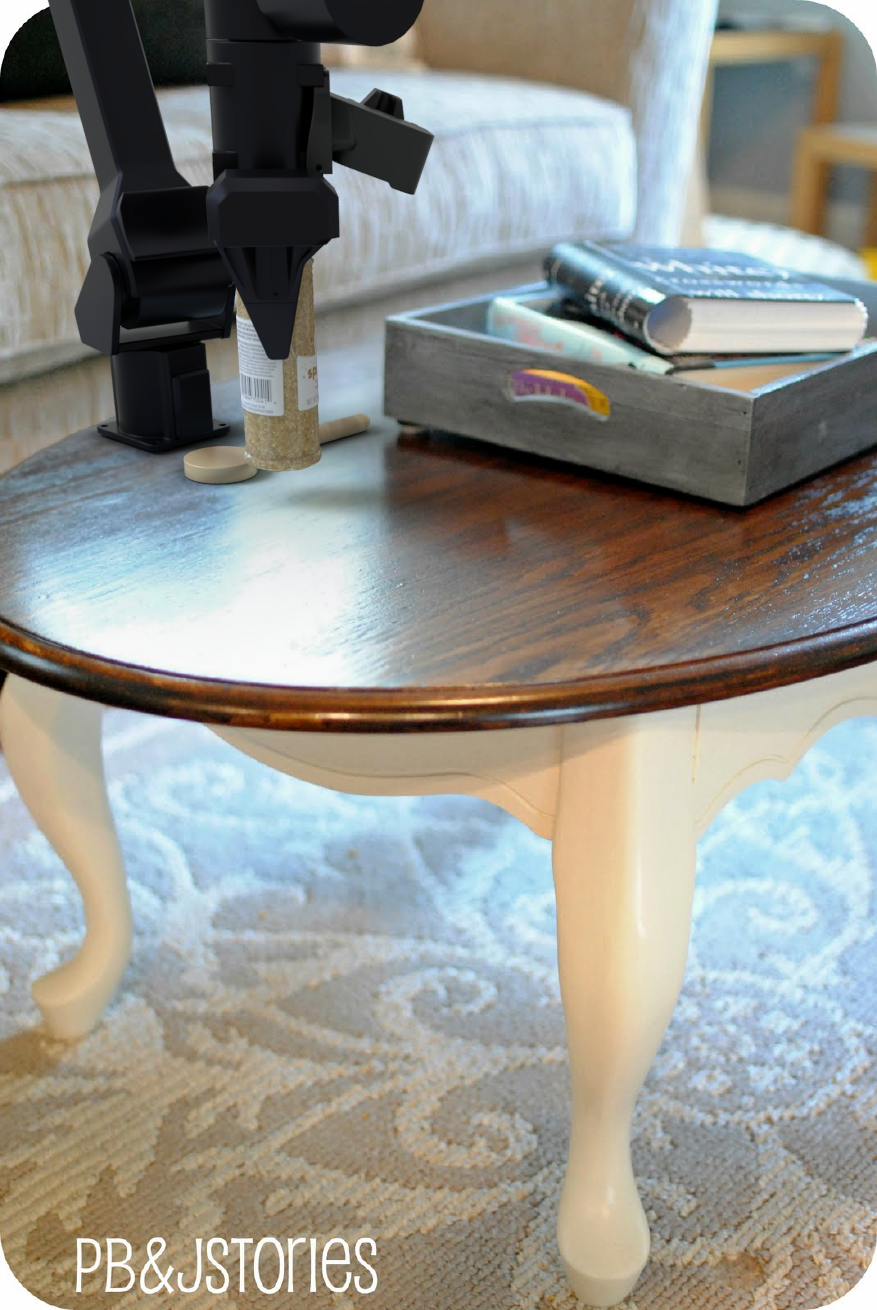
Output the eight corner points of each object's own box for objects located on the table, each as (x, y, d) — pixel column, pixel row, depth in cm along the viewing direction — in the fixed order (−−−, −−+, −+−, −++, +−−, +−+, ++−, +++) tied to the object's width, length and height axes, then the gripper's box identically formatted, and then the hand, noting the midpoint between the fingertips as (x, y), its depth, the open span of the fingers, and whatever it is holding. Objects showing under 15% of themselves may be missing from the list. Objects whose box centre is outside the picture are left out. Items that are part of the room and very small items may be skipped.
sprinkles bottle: (336, 465, 78) (330, 220, 72) (265, 479, 76) (252, 227, 70) (298, 444, 81) (289, 209, 75) (228, 457, 79) (213, 216, 73)
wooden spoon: (215, 489, 81) (214, 469, 80) (170, 472, 83) (168, 453, 83) (391, 435, 91) (390, 418, 90) (345, 422, 93) (344, 405, 93)
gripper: (446, 48, 61) (443, 389, 68) (403, 34, 78) (404, 310, 85) (195, 47, 60) (218, 396, 67) (205, 33, 77) (223, 313, 83)
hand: (277, 348), depth 76 cm, fingers closed on sprinkles bottle, 4 cm apart
